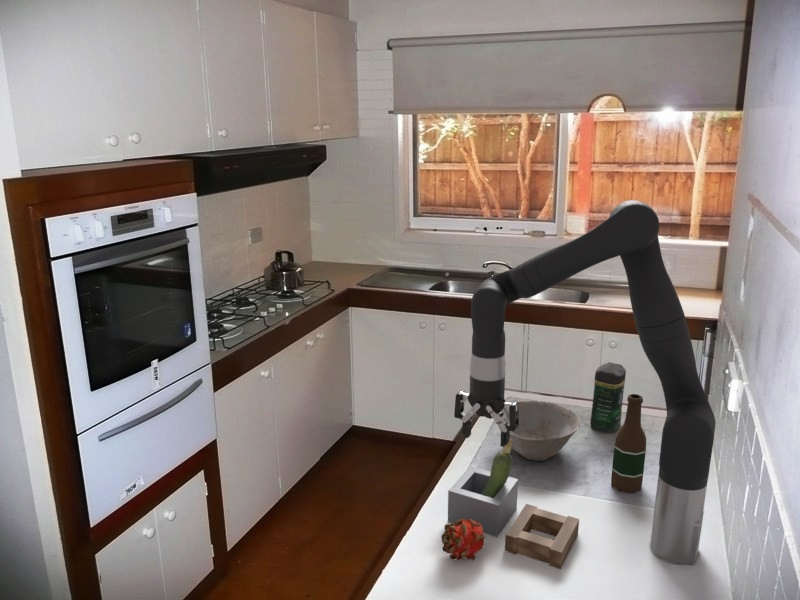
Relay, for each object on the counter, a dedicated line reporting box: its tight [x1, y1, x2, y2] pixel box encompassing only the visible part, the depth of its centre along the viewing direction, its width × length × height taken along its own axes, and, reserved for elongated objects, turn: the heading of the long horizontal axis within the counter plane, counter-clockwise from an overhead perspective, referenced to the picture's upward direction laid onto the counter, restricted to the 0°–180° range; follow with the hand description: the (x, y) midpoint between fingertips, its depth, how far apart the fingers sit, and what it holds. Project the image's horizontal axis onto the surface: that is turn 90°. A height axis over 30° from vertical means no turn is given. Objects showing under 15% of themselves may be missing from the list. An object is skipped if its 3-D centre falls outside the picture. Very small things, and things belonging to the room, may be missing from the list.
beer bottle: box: [610, 393, 647, 494], centre depth 164 cm, size 8×8×24 cm
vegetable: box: [481, 440, 513, 498], centre depth 153 cm, size 4×4×20 cm
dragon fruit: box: [440, 518, 486, 561], centre depth 141 cm, size 8×8×12 cm
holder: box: [447, 465, 519, 539], centre depth 154 cm, size 12×12×8 cm
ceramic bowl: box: [497, 400, 581, 462], centre depth 182 cm, size 22×23×10 cm
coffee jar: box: [589, 362, 627, 433], centre depth 195 cm, size 10×8×19 cm
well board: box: [504, 503, 580, 570], centre depth 145 cm, size 12×13×4 cm
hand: (485, 440), depth 150 cm, fingers open, 8 cm apart
